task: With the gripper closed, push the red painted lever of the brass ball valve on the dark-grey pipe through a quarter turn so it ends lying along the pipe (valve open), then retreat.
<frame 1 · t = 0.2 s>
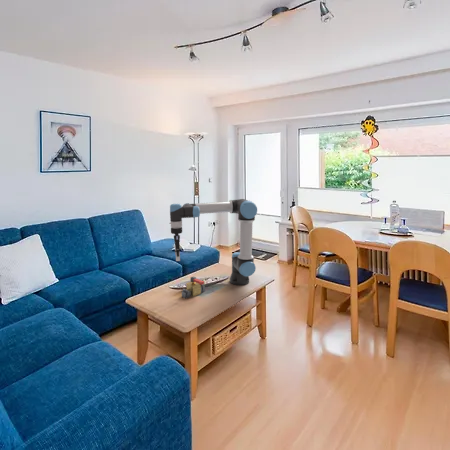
hand: (177, 257, 215), 27 cm above the table, fingers open, 13 cm apart
valve: (193, 293, 223), on the table
lever: (197, 280, 218), point 11 cm above the table, hinge at 0.0°
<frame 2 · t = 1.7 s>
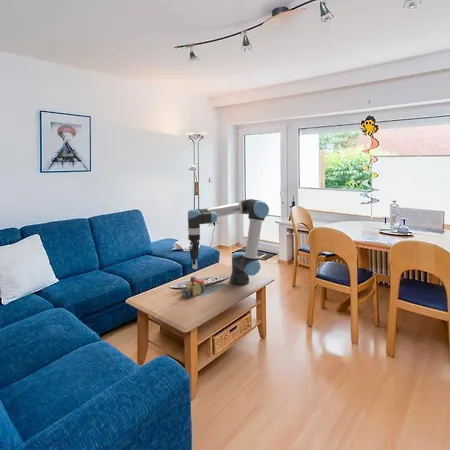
hand: (194, 268, 210), 22 cm above the table, fingers closed
nothing on the table moved.
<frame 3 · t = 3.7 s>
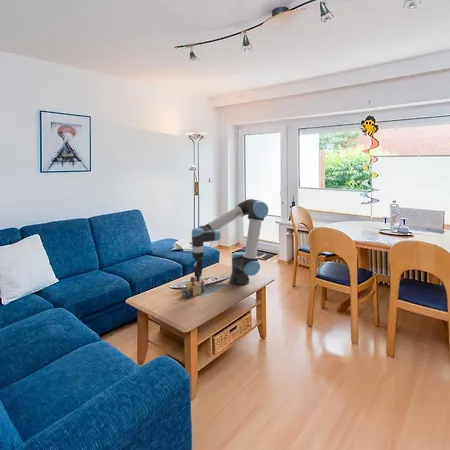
hand: (198, 285, 214), 9 cm above the table, fingers closed
lever: (197, 280, 218), point 11 cm above the table, hinge at 2.0°, touching gripper
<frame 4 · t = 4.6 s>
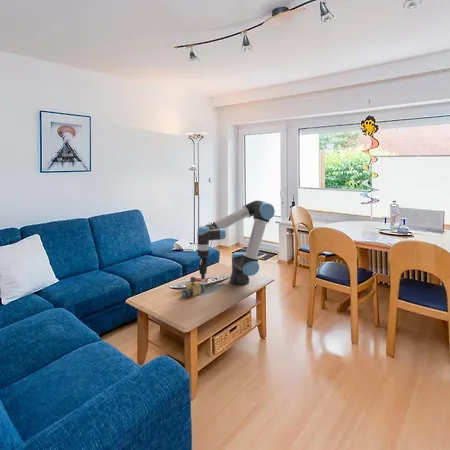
hand: (203, 282, 217), 10 cm above the table, fingers closed
lever: (198, 279, 219), point 11 cm above the table, hinge at 29.7°, touching gripper
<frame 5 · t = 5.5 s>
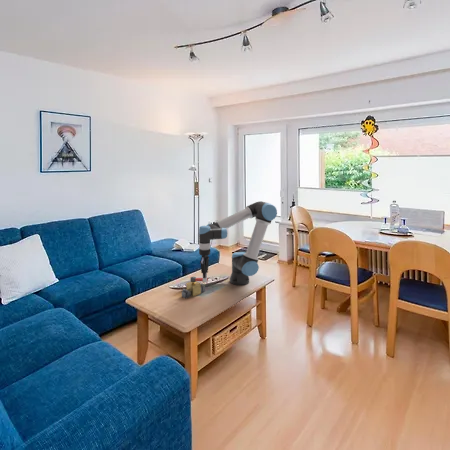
hand: (204, 281, 218), 10 cm above the table, fingers closed
lever: (199, 279, 220), point 11 cm above the table, hinge at 42.2°, touching gripper
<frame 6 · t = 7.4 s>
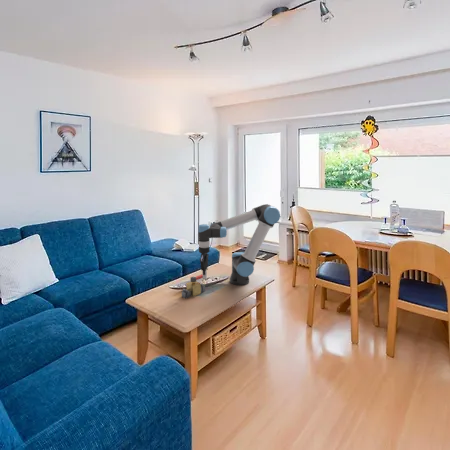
hand: (204, 278, 225), 9 cm above the table, fingers closed
lever: (197, 277, 223), point 11 cm above the table, hinge at 92.4°, touching gripper
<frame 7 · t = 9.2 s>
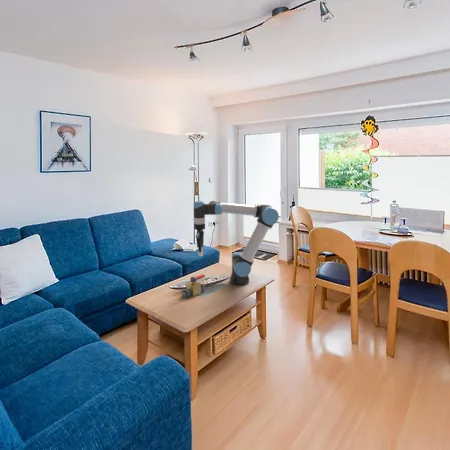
hand: (200, 255, 225), 25 cm above the table, fingers closed
lever: (197, 277, 223), point 11 cm above the table, hinge at 92.6°
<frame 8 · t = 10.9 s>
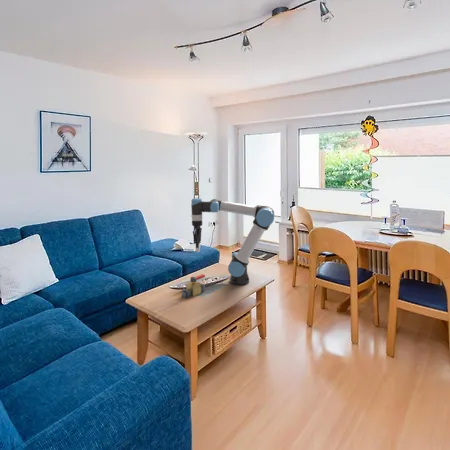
hand: (197, 251, 232), 26 cm above the table, fingers closed
nothing on the table moved.
at the end: lever at +93° (first picture: +0°) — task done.
